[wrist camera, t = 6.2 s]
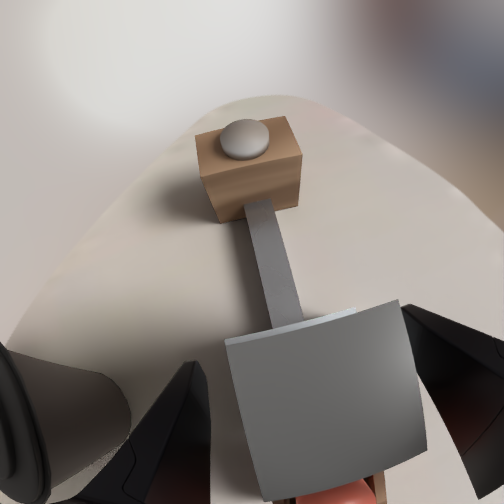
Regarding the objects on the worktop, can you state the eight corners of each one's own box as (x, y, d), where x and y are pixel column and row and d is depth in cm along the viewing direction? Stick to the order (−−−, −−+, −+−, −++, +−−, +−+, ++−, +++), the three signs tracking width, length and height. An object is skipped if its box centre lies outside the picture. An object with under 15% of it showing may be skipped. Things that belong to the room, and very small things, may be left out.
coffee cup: (68, 454, 12) (-34, 475, 3) (51, 351, 15) (-60, 326, 6) (162, 470, 12) (61, 542, 3) (140, 348, 15) (6, 323, 6)
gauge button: (355, 487, 9) (378, 523, 6) (299, 503, 9) (304, 544, 6) (348, 443, 10) (373, 473, 7) (288, 459, 10) (291, 496, 7)
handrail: (325, 426, 12) (330, 434, 11) (297, 434, 12) (298, 443, 11) (271, 211, 17) (270, 198, 16) (246, 217, 17) (243, 204, 16)
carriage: (361, 399, 13) (471, 448, 3) (254, 427, 13) (213, 529, 3) (341, 315, 14) (431, 250, 5) (234, 342, 15) (158, 319, 5)
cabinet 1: (297, 205, 17) (303, 146, 12) (220, 223, 17) (197, 169, 12) (285, 169, 18) (284, 108, 13) (213, 185, 18) (192, 128, 13)
